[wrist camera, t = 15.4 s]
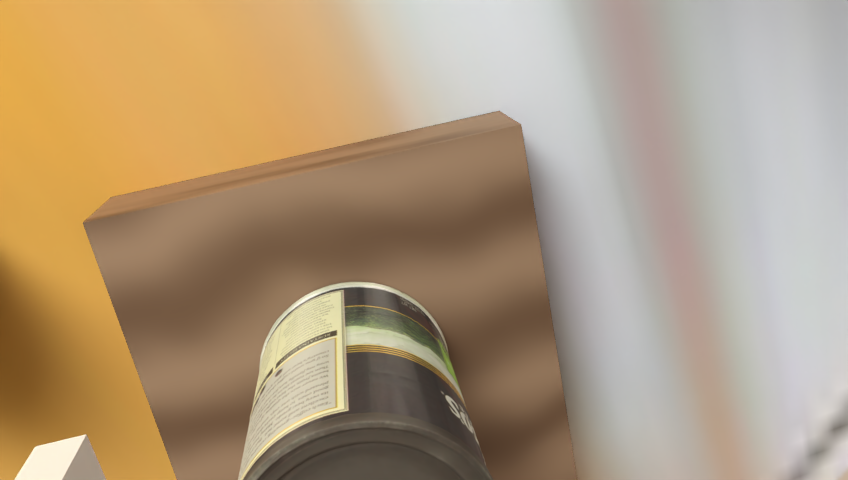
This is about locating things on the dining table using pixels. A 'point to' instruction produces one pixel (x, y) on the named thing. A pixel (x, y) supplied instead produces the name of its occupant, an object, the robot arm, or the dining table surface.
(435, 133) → the walnut plinth
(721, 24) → the dining table surface
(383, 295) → the coffee can
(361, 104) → the dining table surface
